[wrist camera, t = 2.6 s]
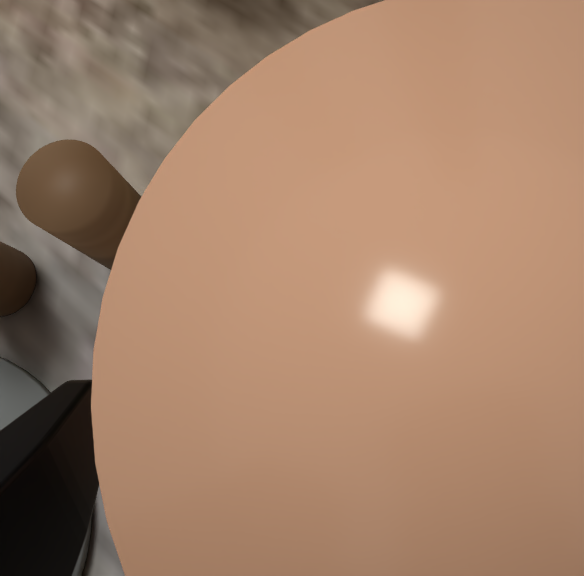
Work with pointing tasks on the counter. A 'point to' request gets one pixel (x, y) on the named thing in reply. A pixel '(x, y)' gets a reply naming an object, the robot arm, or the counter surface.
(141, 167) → the counter surface
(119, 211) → the peg
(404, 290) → the terracotta vase
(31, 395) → the slate coaster
